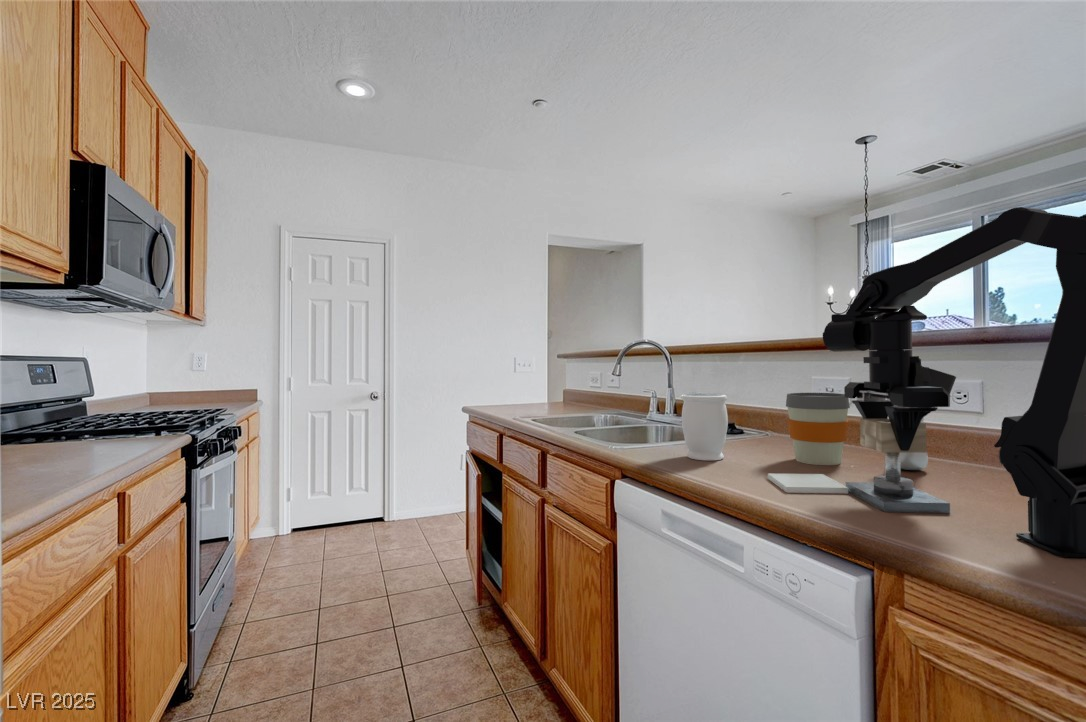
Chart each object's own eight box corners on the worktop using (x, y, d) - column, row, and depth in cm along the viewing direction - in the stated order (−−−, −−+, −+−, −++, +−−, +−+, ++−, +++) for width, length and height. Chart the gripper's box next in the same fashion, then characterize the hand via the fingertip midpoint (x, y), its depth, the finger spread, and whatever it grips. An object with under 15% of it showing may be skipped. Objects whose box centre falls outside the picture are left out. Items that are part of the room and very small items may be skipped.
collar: (926, 452, 75) (926, 423, 75) (881, 452, 75) (881, 423, 75) (901, 445, 81) (901, 418, 81) (860, 445, 82) (859, 418, 82)
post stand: (950, 513, 72) (948, 454, 72) (884, 511, 73) (883, 453, 73) (901, 491, 84) (900, 440, 84) (845, 490, 85) (844, 440, 85)
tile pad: (848, 493, 83) (848, 487, 83) (786, 492, 84) (786, 486, 84) (822, 479, 93) (822, 473, 93) (767, 478, 94) (767, 473, 94)
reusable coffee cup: (774, 458, 113) (773, 394, 113) (815, 453, 117) (814, 391, 117) (820, 469, 101) (819, 397, 101) (865, 464, 105) (863, 395, 105)
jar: (673, 455, 119) (672, 394, 118) (709, 452, 122) (708, 392, 122) (700, 463, 108) (698, 397, 108) (738, 460, 111) (737, 395, 111)
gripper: (990, 347, 68) (993, 458, 68) (909, 350, 86) (910, 437, 86) (904, 349, 69) (906, 458, 69) (842, 351, 88) (843, 437, 88)
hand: (892, 446), depth 78 cm, fingers closed on collar, 6 cm apart
